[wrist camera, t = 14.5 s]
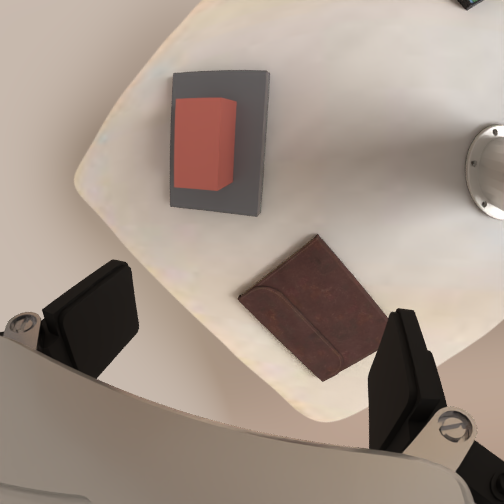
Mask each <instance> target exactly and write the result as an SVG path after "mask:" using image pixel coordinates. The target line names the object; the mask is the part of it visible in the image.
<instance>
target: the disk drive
mask: <svg viewBox="0 0 504 504" xmlns="http://www.w3.org/2000/svg"><path fill="white" fill-rule="evenodd" d="M458 1H459V2H460V4H461V5H462V6H463V7H464V8H465V9H466V10H469V9H470V8H472V7H473V6H475V5H477V4H478V3H480V2H482V1H483V0H458Z"/></svg>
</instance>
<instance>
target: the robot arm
mask: <svg viewBox="0 0 504 504" xmlns="http://www.w3.org/2000/svg"><path fill="white" fill-rule="evenodd" d="M471 161H472V162H473V163H472V164H471ZM466 181H467V185H468V189H469V192H470V194H471V197H472V199H473V200H474V202H475V203H476V205H477V206H478V207H479V208H480V209H481V210H482V211H483V212H484V213H486V214H487V215H489V216H490V217H492V218H495V219H499V220H504V125H493V126H490V127H487V128H485V129H484V130H482V131H481V132H480V133H479V134H478V135H477V136H476V137H475V139H474V140H473V142H472V144H471V146H470V148H469V151H468V154H467V160H466ZM482 202H483V204H482ZM42 311H43V315H44V319H43V320H42V321H41V318H40V316H39V315H38V314H36V313H33V312H25V313H20V314H18V315H16V316H14V317H13V318H11V319H10V320H9V321H8V323H7V325H6V328H5V331H4V332H0V504H504V461H502V460H501V459H500V458H498V457H497V456H496V455H494V454H493V453H491V452H490V451H489V450H487V449H486V448H485V447H483V446H482V445H480V444H479V443H478V442H476V441H475V438H476V435H477V425H476V423H475V420H474V419H473V418H472V416H471V415H470V414H469V413H467V412H466V411H465V410H463V409H460V408H457V407H447V404H446V400H445V396H444V392H443V389H442V385H441V381H440V378H439V375H438V372H437V368H436V364H435V361H434V358H433V355H432V353H431V352H430V351H428V350H427V348H426V344H425V341H424V338H423V335H422V332H421V329H420V326H419V323H418V320H417V317H416V315H415V312H414V310H407V309H400V308H398V309H397V310H396V312H391V313H390V315H389V318H388V321H387V324H386V327H385V330H384V333H383V336H382V339H381V342H380V345H379V347H378V350H377V353H376V356H375V358H374V361H373V364H372V366H371V369H370V372H369V375H368V398H369V449H366V448H359V447H350V446H340V445H333V444H325V443H319V442H313V441H306V440H301V439H295V438H289V437H283V436H278V435H272V434H268V433H262V432H258V431H253V430H249V429H245V428H241V427H237V426H232V425H229V424H225V423H221V422H217V421H213V420H209V419H206V418H203V417H199V416H196V415H192V414H189V413H186V412H183V411H179V410H176V409H174V408H170V407H167V406H165V405H162V404H158V403H156V402H153V401H150V400H147V399H145V398H142V397H139V396H136V395H134V394H131V393H129V392H126V391H124V390H121V389H119V388H116V387H114V386H111V385H109V384H107V383H104V382H102V381H100V380H97V377H98V376H99V375H100V374H101V373H102V372H103V371H104V370H105V368H106V367H107V366H108V365H109V364H110V363H111V362H112V360H113V359H114V358H115V357H116V356H117V355H118V353H120V351H121V350H122V349H123V348H124V347H125V346H126V345H127V344H128V343H129V341H130V340H131V339H132V338H133V337H134V336H135V335H136V333H137V332H138V329H139V322H138V315H137V309H136V303H135V295H134V287H133V280H132V271H131V268H130V267H129V266H128V264H127V263H126V262H123V261H118V260H111V261H109V262H108V263H106V264H105V265H103V266H102V267H101V268H99V269H98V270H96V271H95V272H93V273H92V274H90V275H89V276H88V277H86V278H85V279H84V280H82V281H80V282H79V283H78V284H76V285H75V286H73V287H72V288H71V289H69V290H68V291H67V292H65V293H64V294H62V295H61V296H60V297H59V298H57V299H56V300H54V301H53V302H52V303H50V304H49V305H48V306H46V307H45V308H44V309H42Z"/></svg>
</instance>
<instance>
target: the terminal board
mask: <svg viewBox="0 0 504 504" xmlns="http://www.w3.org/2000/svg"><path fill="white" fill-rule="evenodd" d="M269 80H270V73H269V72H268V71H259V70H223V71H198V72H183V73H173V89H172V109H171V140H170V207H179V208H188V209H197V210H206V211H214V212H223V213H231V214H239V215H247V216H255V217H257V216H258V215H259V214H260V213H261V200H262V186H263V171H264V156H265V142H266V126H267V111H268V96H269ZM183 98H225V99H229V100H233V101H237V106H236V125H235V145H234V167H233V182H232V183H231V184H229V185H227V186H225V187H223V188H222V189H220V190H218V191H214V190H202V189H190V188H177V187H174V141H175V108H176V99H183Z"/></svg>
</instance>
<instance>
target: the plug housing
mask: <svg viewBox="0 0 504 504" xmlns="http://www.w3.org/2000/svg"><path fill="white" fill-rule="evenodd" d="M236 106H237V101H233V100H229V99H225V98H183V99H176V108H175V141H174V187H177V188H190V189H202V190H214V191H218V190H220V189H222V188H223V187H225V186H227V185H229V184H231V183H232V182H233V167H234V145H235V125H236Z"/></svg>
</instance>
